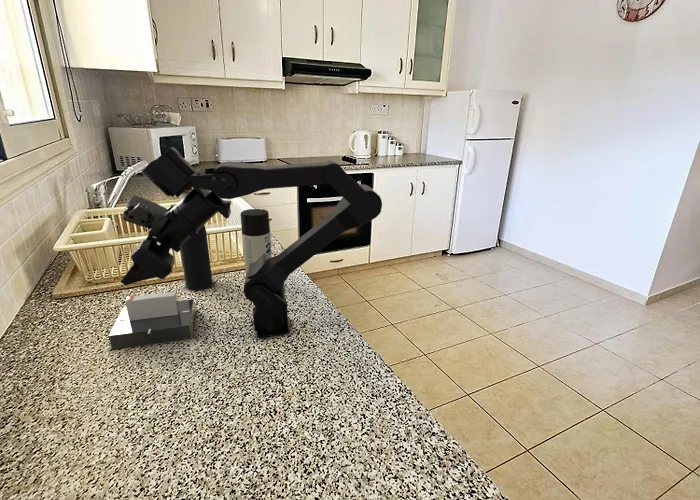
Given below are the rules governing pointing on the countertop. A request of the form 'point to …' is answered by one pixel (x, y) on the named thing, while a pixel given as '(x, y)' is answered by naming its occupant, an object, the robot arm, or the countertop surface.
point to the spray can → (255, 235)
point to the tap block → (153, 327)
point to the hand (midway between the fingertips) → (129, 270)
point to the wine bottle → (196, 258)
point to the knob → (152, 306)
